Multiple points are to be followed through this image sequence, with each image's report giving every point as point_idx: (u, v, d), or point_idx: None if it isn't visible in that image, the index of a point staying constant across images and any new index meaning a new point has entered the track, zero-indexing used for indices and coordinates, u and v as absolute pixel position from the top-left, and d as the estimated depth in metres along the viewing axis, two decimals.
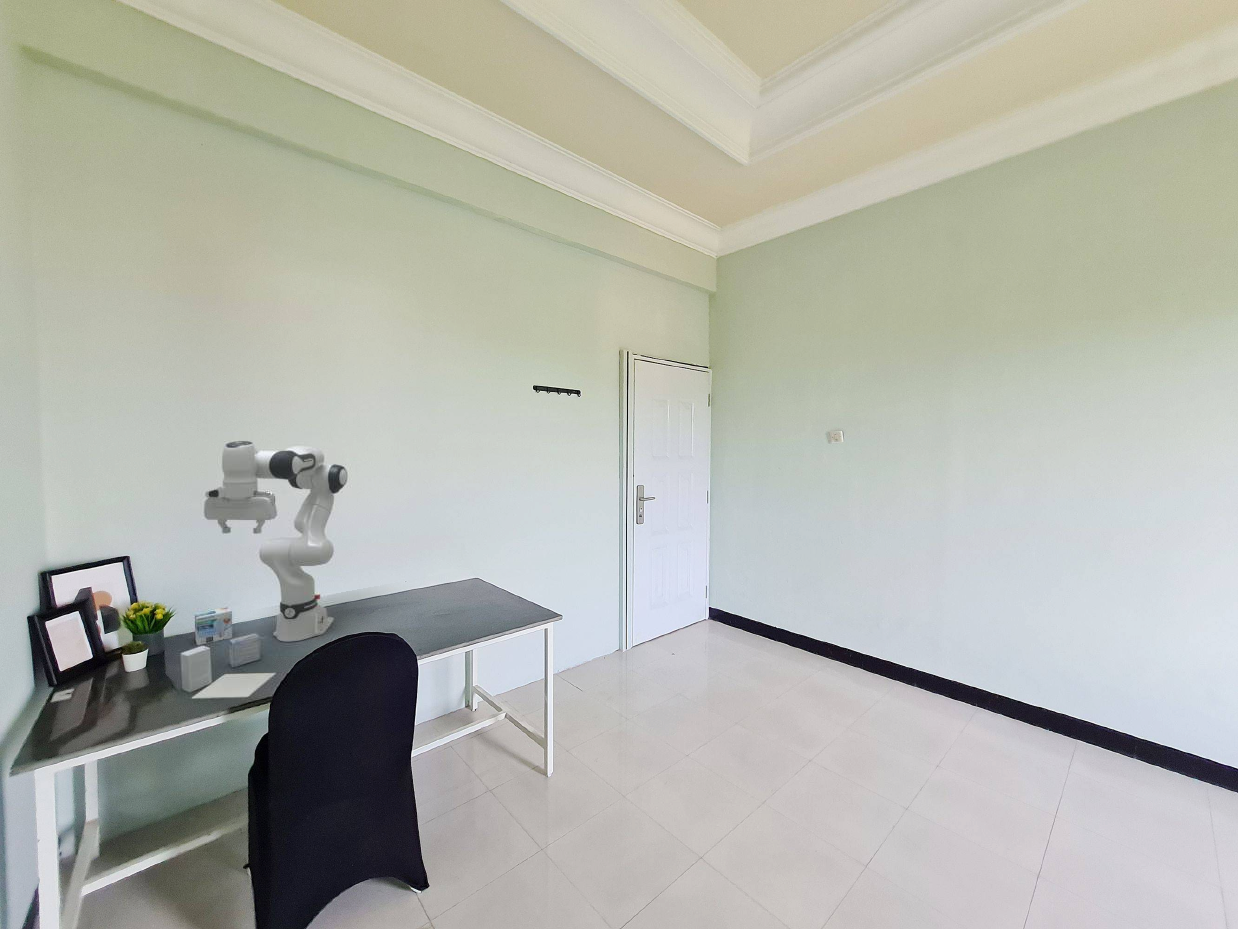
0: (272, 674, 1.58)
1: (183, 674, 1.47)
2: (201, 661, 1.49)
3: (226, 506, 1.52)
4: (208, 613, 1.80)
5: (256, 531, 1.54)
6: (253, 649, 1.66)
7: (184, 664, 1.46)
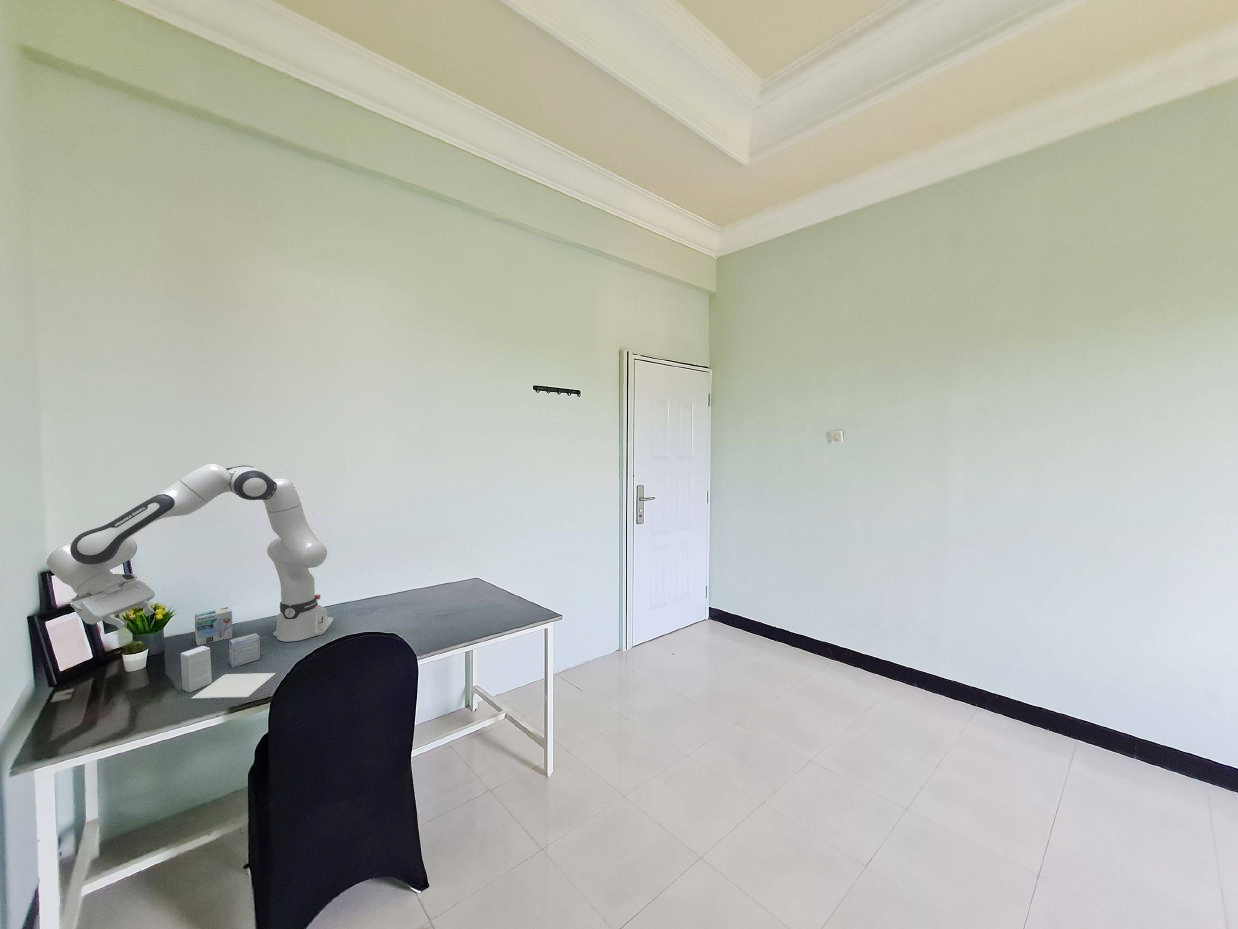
0: (272, 674, 1.58)
1: (183, 674, 1.47)
2: (201, 661, 1.49)
3: None
4: (208, 613, 1.80)
5: None
6: (253, 649, 1.66)
7: (184, 664, 1.46)
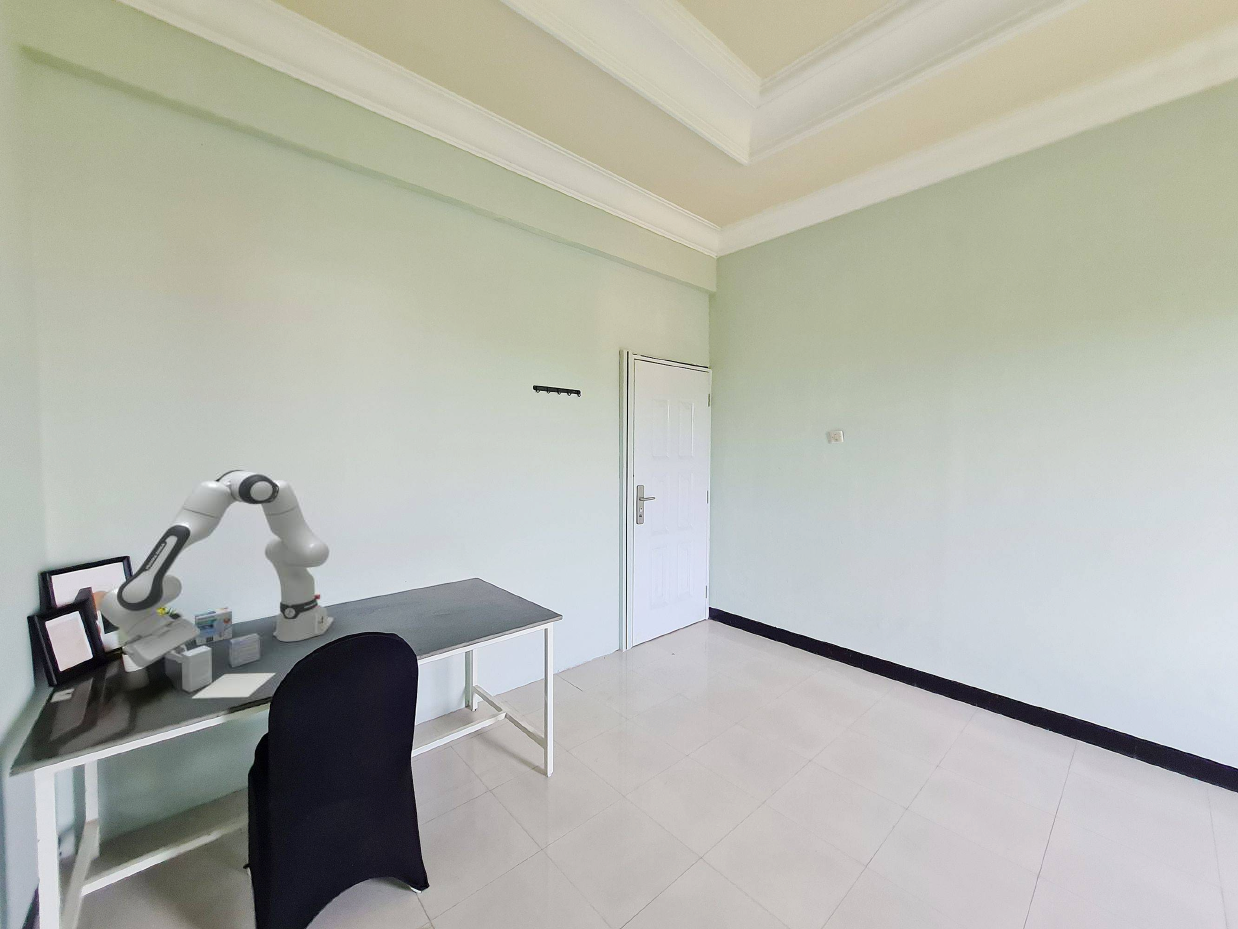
0: (272, 674, 1.58)
1: (184, 674, 1.47)
2: (202, 661, 1.49)
3: None
4: (208, 613, 1.80)
5: None
6: (253, 649, 1.66)
7: (185, 664, 1.46)
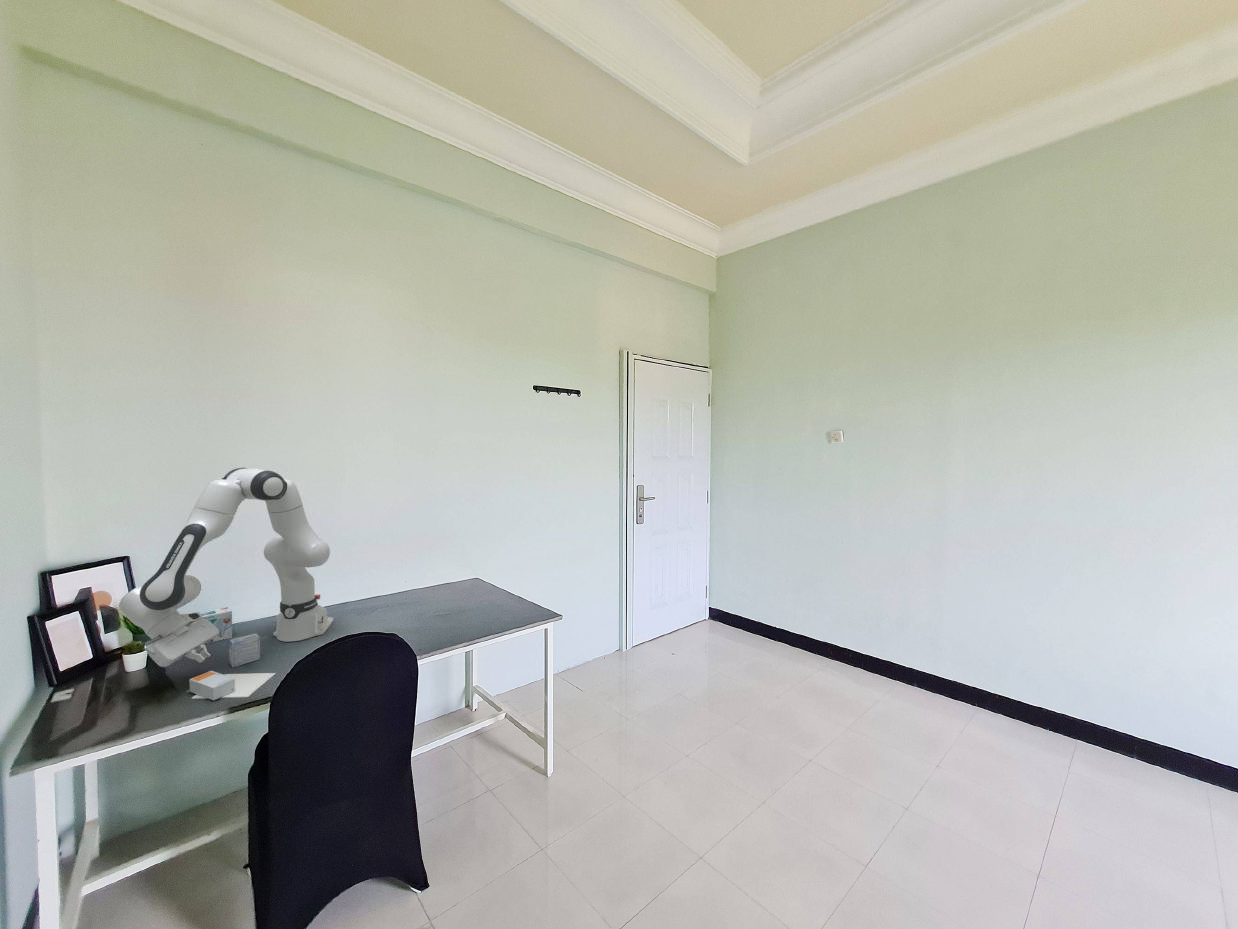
0: (272, 674, 1.58)
1: (199, 686, 1.44)
2: None
3: None
4: (208, 613, 1.80)
5: None
6: (253, 649, 1.66)
7: (206, 692, 1.43)
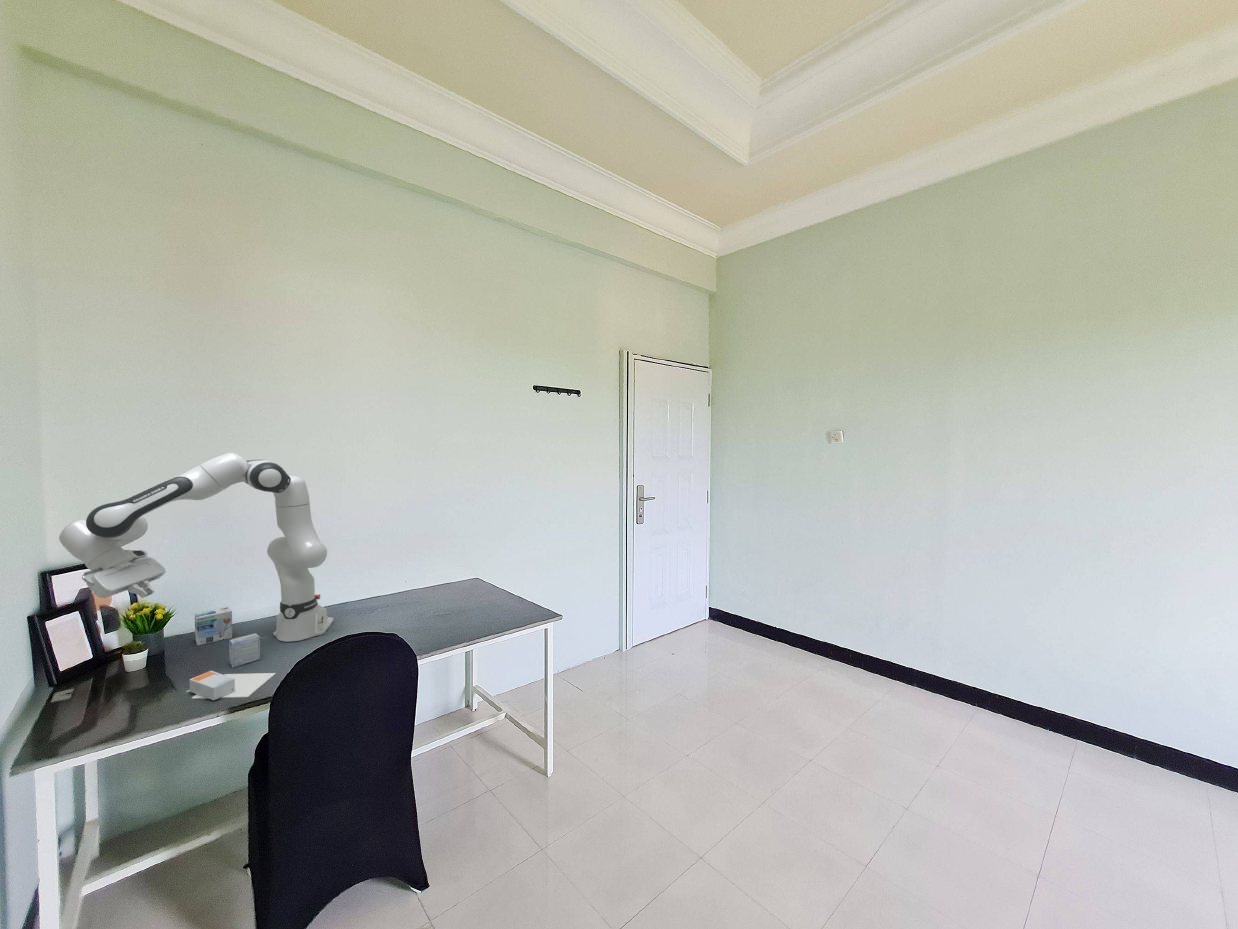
0: (272, 674, 1.58)
1: (199, 686, 1.44)
2: None
3: None
4: (208, 613, 1.80)
5: None
6: (253, 649, 1.66)
7: (206, 692, 1.43)
